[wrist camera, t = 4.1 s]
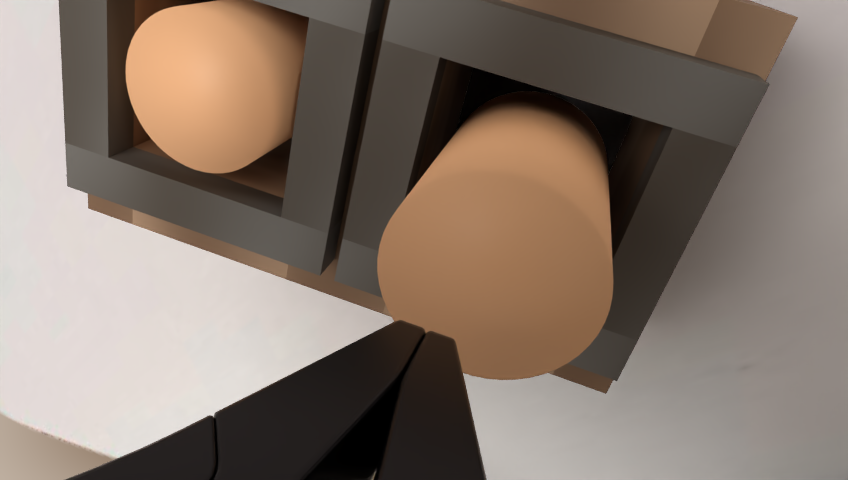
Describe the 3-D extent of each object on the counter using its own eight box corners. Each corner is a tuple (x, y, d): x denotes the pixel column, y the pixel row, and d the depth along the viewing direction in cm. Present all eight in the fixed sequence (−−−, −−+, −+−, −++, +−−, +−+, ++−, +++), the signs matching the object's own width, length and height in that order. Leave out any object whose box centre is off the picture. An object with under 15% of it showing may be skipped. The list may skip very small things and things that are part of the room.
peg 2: (633, 119, 14) (654, 218, 9) (574, 261, 16) (563, 409, 11) (472, 70, 15) (404, 137, 10) (433, 213, 17) (358, 335, 12)
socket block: (744, -2, 16) (814, 23, 11) (604, 300, 21) (606, 418, 16) (202, -152, 18) (41, -192, 13) (186, 158, 23) (63, 221, 18)
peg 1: (372, 9, 19) (285, 34, 14) (349, 131, 21) (265, 193, 16) (253, -26, 19) (126, -16, 14) (242, 96, 21) (125, 145, 16)
